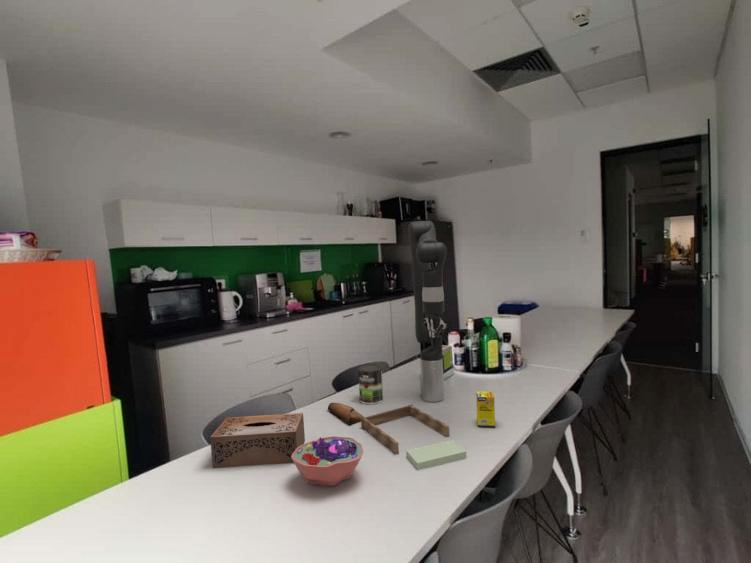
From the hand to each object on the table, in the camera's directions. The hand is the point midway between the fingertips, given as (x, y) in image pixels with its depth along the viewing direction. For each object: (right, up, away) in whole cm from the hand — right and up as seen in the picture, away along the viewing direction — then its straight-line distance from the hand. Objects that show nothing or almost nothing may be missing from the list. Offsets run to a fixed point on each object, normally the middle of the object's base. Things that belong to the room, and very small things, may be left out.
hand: (434, 347), depth 142 cm
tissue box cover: (-58, -32, -14) cm, 68 cm away
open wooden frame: (-11, -29, -4) cm, 31 cm away
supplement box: (+18, -27, -1) cm, 33 cm away
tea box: (+10, -24, +53) cm, 59 cm away
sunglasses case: (-32, -29, +13) cm, 46 cm away
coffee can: (-23, -27, +28) cm, 45 cm away
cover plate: (-3, -30, -22) cm, 37 cm away
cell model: (-34, -32, -31) cm, 56 cm away
